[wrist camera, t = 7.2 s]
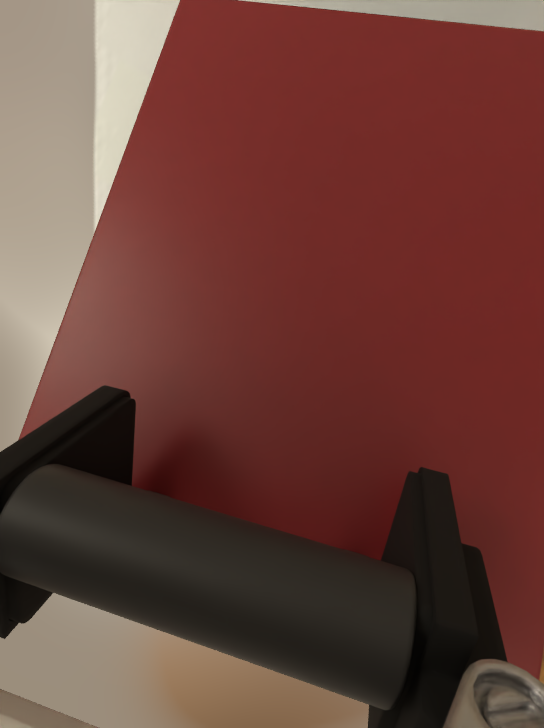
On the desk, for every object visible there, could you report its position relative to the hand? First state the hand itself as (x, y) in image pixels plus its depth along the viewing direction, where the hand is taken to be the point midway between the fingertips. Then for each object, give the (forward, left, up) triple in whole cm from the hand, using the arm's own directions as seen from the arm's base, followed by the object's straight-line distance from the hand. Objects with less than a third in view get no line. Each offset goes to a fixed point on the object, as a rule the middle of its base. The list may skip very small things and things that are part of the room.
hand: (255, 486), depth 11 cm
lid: (0, -4, -5) cm, 6 cm away
